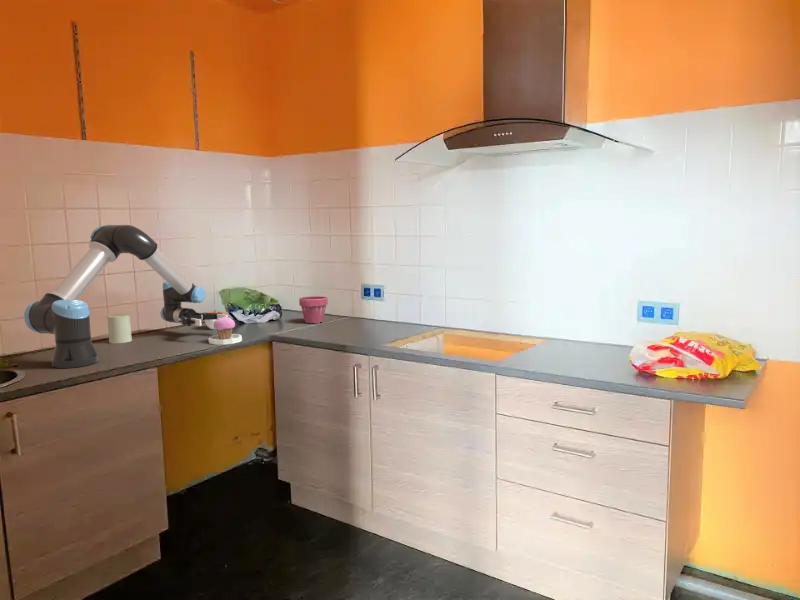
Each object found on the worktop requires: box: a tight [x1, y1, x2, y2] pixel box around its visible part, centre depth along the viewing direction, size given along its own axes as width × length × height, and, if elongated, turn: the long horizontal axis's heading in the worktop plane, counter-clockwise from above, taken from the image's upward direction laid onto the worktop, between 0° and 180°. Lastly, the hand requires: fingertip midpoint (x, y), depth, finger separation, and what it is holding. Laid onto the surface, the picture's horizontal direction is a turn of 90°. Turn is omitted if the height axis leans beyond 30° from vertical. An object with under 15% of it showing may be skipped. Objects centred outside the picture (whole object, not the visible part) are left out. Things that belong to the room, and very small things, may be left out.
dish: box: [208, 333, 243, 346], centre depth 260 cm, size 14×14×2 cm
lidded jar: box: [204, 309, 228, 331], centre depth 292 cm, size 11×11×9 cm
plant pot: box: [298, 295, 329, 324], centre depth 305 cm, size 14×14×13 cm
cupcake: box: [214, 316, 236, 340], centre depth 260 cm, size 9×9×10 cm
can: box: [106, 313, 133, 345], centre depth 263 cm, size 9×9×12 cm
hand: (214, 320), depth 263 cm, fingers open, 13 cm apart
